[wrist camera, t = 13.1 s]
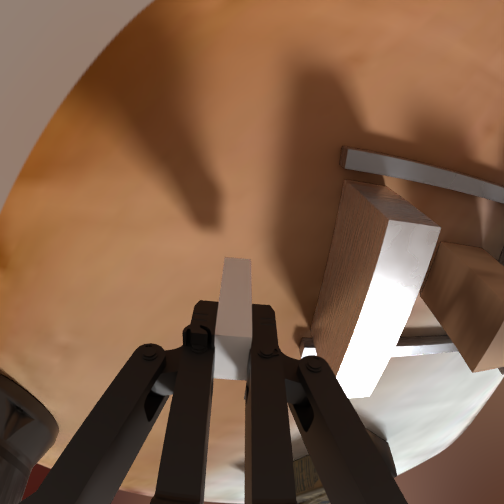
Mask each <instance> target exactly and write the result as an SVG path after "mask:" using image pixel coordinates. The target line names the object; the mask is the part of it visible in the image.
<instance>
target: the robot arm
mask: <svg viewBox="0 0 504 504" xmlns="http://www.w3.org/2000/svg"><path fill="white" fill-rule="evenodd" d="M214 378H219V379H232V380H246V379H247V383H246V390H245V396H244V399H245V504H297V500H296V490H295V478H294V467H293V457H292V446H291V436H290V426H289V416H288V406H287V403H288V405H289V408H290V410H291V413H292V415H293V417H294V420H295V422H296V425H297V427H298V429H299V432H300V434H301V436H302V439H303V441H304V443H305V446H306V448H307V451H308V453H309V455H310V458H311V460H312V462H313V465H314V467H315V469H316V471H317V474H318V476H319V478H320V481H321V483H322V485H323V488H324V490H325V492H326V494H327V497H328V499H329V501H330V503H331V504H408V503H407V501H406V500H405V498H404V496H403V494H402V492H401V491H400V489H399V487H398V485H397V484H396V482H395V480H394V478H393V476H392V474H391V473H390V471H389V469H388V467H387V466H386V464H385V462H384V460H383V458H382V457H381V455H380V453H379V451H378V450H377V448H376V446H375V444H374V443H373V441H372V439H371V437H370V436H369V434H368V432H367V430H366V428H365V427H364V425H363V423H362V421H361V420H360V418H359V416H358V414H357V413H356V411H355V409H354V407H353V406H352V404H351V402H350V400H349V399H348V397H347V395H346V393H345V392H344V390H343V388H342V386H341V385H340V383H339V381H338V379H337V378H336V376H335V374H334V373H333V371H332V369H331V367H330V366H329V364H328V363H327V361H326V360H325V359H323V358H321V357H319V356H316V355H308V356H305V357H303V358H302V359H301V360H297V359H293V358H290V357H288V356H286V355H285V354H283V353H282V352H281V350H280V349H279V346H278V338H277V329H276V320H275V312H274V310H273V309H272V307H271V306H270V305H260V304H252V288H251V259H241V258H230V257H225V260H224V267H223V274H222V282H221V289H220V297H219V302H214V301H203V300H200V301H199V302H198V303H197V304H196V305H195V306H194V311H193V315H192V320H191V324H190V325H188V326H187V327H185V328H184V330H183V345H182V346H181V347H179V348H177V349H173V350H166V351H164V349H163V348H162V347H161V346H159V345H157V344H152V343H150V344H144V345H141V346H139V347H138V348H137V349H136V350H135V351H134V353H133V354H132V356H131V357H130V358H129V360H128V361H127V362H126V364H125V365H124V366H123V368H122V369H121V371H120V372H119V373H118V375H117V376H116V377H115V379H114V380H113V381H112V383H111V384H110V386H109V387H108V388H107V390H106V391H105V393H104V394H103V395H102V397H101V398H100V400H99V401H98V402H97V404H96V405H95V407H94V408H93V409H92V411H91V412H90V414H89V415H88V416H87V418H86V419H85V421H84V422H83V424H82V425H81V426H80V428H79V429H78V431H77V432H76V434H75V435H74V436H73V438H72V439H71V441H70V442H69V444H68V445H67V447H66V448H65V450H64V451H63V452H62V454H61V455H60V457H59V458H58V460H57V461H56V463H55V464H54V466H53V467H52V469H51V470H50V472H49V473H48V475H47V476H46V478H45V479H44V481H43V482H42V484H41V485H40V487H39V488H38V490H37V491H36V492H35V493H33V494H32V495H30V496H29V497H27V498H26V499H24V500H23V501H21V500H22V497H23V493H24V490H25V487H26V484H27V481H28V478H29V475H30V472H31V470H32V468H33V466H34V465H35V464H36V463H37V462H38V461H39V460H40V459H41V458H42V457H43V456H44V454H45V453H46V452H47V451H48V450H49V449H50V448H51V447H52V446H53V445H54V443H55V441H56V438H57V436H58V433H59V427H58V425H57V423H56V421H55V419H54V418H53V417H52V415H51V414H50V413H49V412H48V411H47V410H46V409H45V408H44V406H43V405H41V404H40V403H39V402H38V401H37V400H36V399H35V398H34V397H33V396H31V395H30V394H29V393H28V392H26V391H25V390H24V389H22V388H21V387H20V386H18V385H17V384H15V383H14V382H12V381H11V380H9V379H7V378H6V377H4V376H2V375H0V504H111V502H112V500H113V498H114V497H115V495H116V493H117V491H118V489H119V487H120V486H121V484H122V482H123V480H124V478H125V476H126V475H127V473H128V471H129V469H130V467H131V465H132V464H133V462H134V460H135V458H136V456H137V454H138V453H139V451H140V449H141V447H142V445H143V443H144V442H145V440H146V438H147V436H148V434H149V432H150V431H151V429H152V427H153V425H154V423H155V421H156V420H157V418H158V416H159V414H160V412H161V411H162V409H163V407H164V405H165V403H166V401H167V400H168V398H169V395H172V394H173V397H172V402H171V407H170V412H169V417H168V423H167V428H166V433H165V439H164V444H163V450H162V455H161V461H160V467H159V473H158V479H157V485H156V491H155V495H154V497H153V498H152V499H151V502H150V504H203V502H204V489H205V476H206V463H207V451H208V439H209V427H210V416H211V405H212V394H213V379H214Z"/></svg>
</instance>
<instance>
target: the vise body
mask: <svg viewBox="0 0 504 504" xmlns="http://www.w3.org/2000/svg"><path fill="white" fill-rule="evenodd" d="M339 165H341V166H342V167H343V168H345V169H351V170H357V171H363V172H369V173H374V174H380V175H385V176H391V177H396V178H401V179H406V180H411V181H415V182H420V183H425V184H429V185H434V186H438V187H442V188H447V189H451V190H455V191H459V192H463V193H467V194H471V195H475V196H478V197H482V198H486V199H489V200H493V201H496V202H500V203H503V204H504V186H501V185H498V184H495V183H492V182H489V181H486V180H483V179H480V178H477V177H473V176H470V175H467V174H463V173H460V172H456V171H453V170H449V169H446V168H442V167H438V166H434V165H430V164H426V163H422V162H418V161H414V160H410V159H406V158H401V157H397V156H392V155H388V154H383V153H378V152H373V151H368V150H363V149H358V148H352V147H346V146H342V151H341V157H340V163H339ZM498 262H499V263H500V264H502V265H503V266H504V248H503V250H502V253H501V256H500V258H499V261H498ZM299 350H300V355H301V359H302V358H303V357H305V356H308V355H316V351H315V347H314V343H313V339H312V338H302V339H301V343H300V347H299ZM456 351H458V349H457V348H456V346H455V345H454V343H453V342H452V340H451V339H450V338H449V336H448V335H443V336H426V337H403V338H399V339H398V341H397V344H396V346H395V348H394V350H393V352H392V354H391V356H390V357H397V356H413V355H425V354H436V353H447V352H456ZM316 356H317V355H316ZM498 369H499V370H500V372H501V373H502V375H503V374H504V367H500V368H498Z"/></svg>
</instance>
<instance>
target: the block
mask: <svg viewBox="0 0 504 504" xmlns="http://www.w3.org/2000/svg"><path fill="white" fill-rule="evenodd" d="M420 297H421V298H422V299H423V301H424V302H425V303H426V305H427V306H428V308H429V309H430V310H431V312H432V313H433V314H434V316H435V317H436V319H437V320H438V322H439V323H440V324H441V326H442V327H443V329H444V330H445V332H446V333H447V335H448V336H449V338H450V339H451V340H452V342H453V343H454V345H455V346H456V348H457V349H458V351H459V353H460V354H461V356H462V357H463V359H464V360H465V362H466V363H467V365H468V367H469V368H470V370H471V371H472V373H474V372H480V371H485V370H490V369H495V368H500V367H504V266H503V265H502V264H500V263H499V262H498V261H497V260H496V259H495V258H493V257H492V256H491V255H490V254H489V253H488V252H486V251H485V250H484V249H483V248H480V247H473V246H467V245H461V244H454V243H447V242H440V245H439V248H438V251H437V254H436V257H435V259H434V262H433V265H432V268H431V270H430V273H429V275H428V278H427V281H426V283H425V286H424V288H423V291H422V293H421V295H420Z"/></svg>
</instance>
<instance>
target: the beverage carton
mask: <svg viewBox="0 0 504 504" xmlns="http://www.w3.org/2000/svg"><path fill="white" fill-rule="evenodd" d="M366 430H367V432H368V434H369V436H370V437H371V439H372V441H373V443H374V444H375V446H376V448H377V450H378V451H379V453H380V455H381V457H382V458H383V460H384V462H385V464H386V466H387V467H388V469H389V471H390V473H391V474H392V476H393V478H394V477H396V476H397V473H396V468H395V464H394V461H393V457H392V454H391V451H390V447H389V445H388V442H386V441H385V440H383V439H381V438H379V437H378V436H377V435H375V434H373V433H372V432H370V431H369V430H368V429H366ZM293 467H294V478H295V490H296V500H297V504H329V503H330V501H329V499H328V497H327V494H326V492H325V490H324V488H323V485H322V483H321V481H320V478H319V476H318V474H317V471H316V469H315V467H314V465H313V462H312V460H311V458H310V455H308V456H306V457H303V458H301V459H298V460H296V461H294V462H293Z"/></svg>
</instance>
